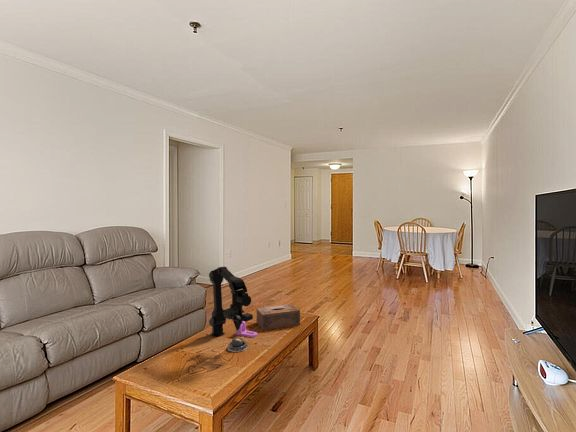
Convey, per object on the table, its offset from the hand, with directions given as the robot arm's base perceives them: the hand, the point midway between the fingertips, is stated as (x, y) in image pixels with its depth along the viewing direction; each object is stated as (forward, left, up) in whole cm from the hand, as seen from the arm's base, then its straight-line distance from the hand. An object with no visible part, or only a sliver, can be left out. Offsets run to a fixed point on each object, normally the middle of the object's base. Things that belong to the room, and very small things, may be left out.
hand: (237, 329), depth 185 cm
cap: (0, 0, -10) cm, 10 cm away
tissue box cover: (-6, +43, -10) cm, 45 cm away
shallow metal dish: (0, 0, -10) cm, 10 cm away
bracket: (-9, +17, -10) cm, 22 cm away
